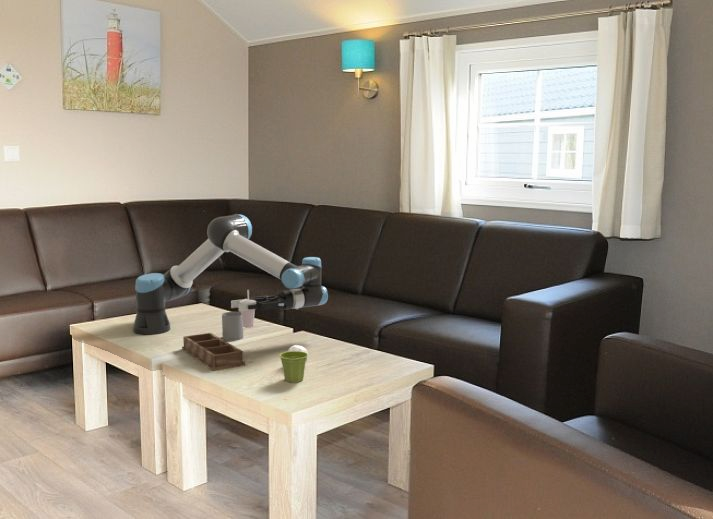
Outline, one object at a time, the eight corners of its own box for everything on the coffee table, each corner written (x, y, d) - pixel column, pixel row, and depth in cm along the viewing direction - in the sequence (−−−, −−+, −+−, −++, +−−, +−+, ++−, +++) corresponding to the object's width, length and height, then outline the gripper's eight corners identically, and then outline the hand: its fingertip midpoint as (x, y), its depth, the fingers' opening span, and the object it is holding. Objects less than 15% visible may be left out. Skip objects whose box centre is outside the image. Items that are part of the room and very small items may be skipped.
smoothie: (259, 325, 279) (259, 289, 277) (251, 329, 273) (251, 292, 271) (244, 323, 281) (243, 288, 279) (236, 327, 275) (235, 291, 273)
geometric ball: (291, 374, 257) (277, 357, 256) (302, 361, 264) (288, 344, 262) (305, 367, 253) (291, 350, 251) (316, 354, 259) (302, 337, 258)
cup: (238, 341, 291) (238, 316, 289) (219, 340, 293) (218, 315, 291) (246, 335, 299) (245, 312, 298) (227, 334, 301) (226, 311, 299)
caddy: (182, 349, 280) (181, 336, 279) (211, 344, 286) (211, 332, 285) (213, 370, 253) (212, 356, 252) (245, 365, 259) (244, 351, 258)
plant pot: (280, 375, 247) (279, 351, 246) (307, 375, 248) (307, 350, 247) (279, 384, 238) (279, 359, 237) (308, 384, 239) (308, 358, 237)
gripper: (302, 313, 278) (245, 321, 265) (279, 304, 294) (225, 311, 281) (301, 294, 276) (245, 300, 264) (279, 285, 292) (224, 291, 280)
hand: (235, 306), depth 273 cm, fingers closed on smoothie, 6 cm apart
